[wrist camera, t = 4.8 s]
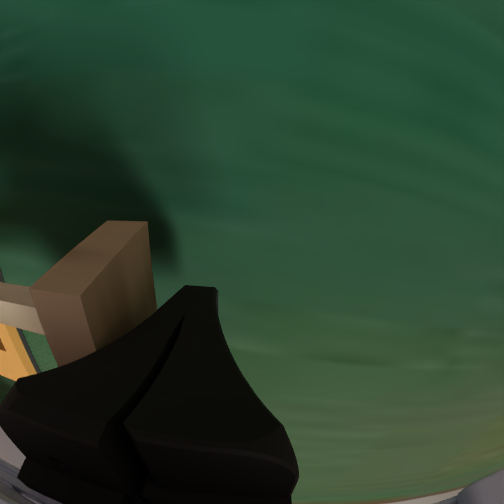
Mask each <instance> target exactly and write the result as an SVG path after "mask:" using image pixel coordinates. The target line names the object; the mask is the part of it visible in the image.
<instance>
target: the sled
mask: <svg viewBox="0 0 504 504" xmlns="http://www.w3.org/2000/svg"><path fill="white" fill-rule="evenodd" d="M155 311H157V304H156V296H155V289H154V281H153V272H152V263H151V254H150V243H149V232H148V221H106V222H105V223H104V224H102V225H101V226H100V227H99V228H97V229H96V230H95V231H94V232H93V233H91V234H90V235H89V236H88V237H86V238H85V239H84V240H83V241H82V242H80V243H79V244H78V245H77V246H76V247H74V248H73V249H72V250H71V251H70V252H69V253H67V254H66V255H65V256H64V257H63V258H62V259H61V260H59V261H58V262H57V263H56V264H55V265H54V266H53V267H52V268H50V269H49V270H48V271H47V272H46V273H45V274H44V275H43V276H42V277H41V278H40V279H38V280H37V281H36V282H35V283H34V284H33V285H32V286H31V287H26V286H20V285H14V284H8V283H2V282H0V323H2V324H5V325H9V326H12V327H16V328H20V329H24V330H27V331H31V332H35V333H40V334H44V335H45V336H46V338H47V341H48V343H49V346H50V348H51V351H52V353H53V355H54V358H55V360H56V362H57V364H58V367H60V366H63V365H66V364H68V363H71V362H73V361H76V360H78V359H81V358H83V357H85V356H87V355H89V354H91V353H93V352H95V351H97V350H99V349H101V348H103V347H105V346H107V345H109V344H110V343H112V342H114V341H115V340H117V339H119V338H120V337H122V336H124V335H125V334H127V333H128V332H130V331H131V330H132V329H134V328H135V327H136V326H138V325H139V324H140V323H142V322H143V321H144V320H146V319H147V318H148V317H149V316H151V315H152V314H153V313H154V312H155Z"/></svg>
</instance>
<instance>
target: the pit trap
mask: <svg viewBox="0 0 504 504" xmlns="http://www.w3.org/2000/svg"><path fill="white" fill-rule="evenodd" d="M0 282H2V283H4V280H3V276H2V273H1V270H0ZM37 373H41V372H40V370H39V368H38V366H37V363H36V361H35V359H34V357H33V355H32V353H31V351H30V348H29V346H28V344H27V342H26V339H25V337H24V335H23V332H22V330H21V329H20V328H16V327H12V326H9V325H5V324H2V323H0V375H2V376H4V377H7V378H9V379H12V380H14V381H17V379H18V378H21V377H26V376H29V375H33V374H37Z"/></svg>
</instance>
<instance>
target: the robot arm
mask: <svg viewBox="0 0 504 504" xmlns="http://www.w3.org/2000/svg"><path fill="white" fill-rule="evenodd" d="M0 426H1V428H2V429H3V431H4V432H5V433H6V434H7V436H8V437H9V438H10V439H11V440H12V442H13V443H14V444H15V445H16V446H17V448H18V449H19V450H20V451H21V452H22V453H23V454H24V455H25V456H26V459H25V461H24V463H23V465H22V467H21V469H19V468H16V467H15V466H13V465H11V464H9V463H7V462H6V461H4V460H2V459H0V504H292V502H291V494H292V492H293V490H294V488H295V486H296V484H297V481H298V478H299V469H298V464H297V460H296V456H295V453H294V450H293V448H292V445H291V442H290V440H289V438H288V435H287V433H286V431H285V428H284V426H283V425H282V424H281V423H280V422H279V421H278V420H277V419H276V418H275V416H274V415H273V414H272V413H271V412H270V411H269V410H268V409H267V408H266V406H265V405H264V404H263V403H262V402H261V400H260V399H259V398H258V396H257V395H256V394H255V393H254V391H253V390H252V388H251V387H250V385H249V384H248V382H247V381H246V379H245V378H244V376H243V375H242V373H241V371H240V370H239V368H238V366H237V364H236V362H235V360H234V358H233V356H232V354H231V352H230V350H229V348H228V345H227V343H226V340H225V337H224V335H223V332H222V329H221V325H220V321H219V317H218V290H217V289H216V288H215V287H204V286H189V285H185V286H184V287H183V288H181V289H180V290H179V291H178V292H177V293H176V294H175V295H173V296H172V297H171V298H170V299H169V300H168V301H167V302H166V303H165V304H164V305H162V306H161V307H160V308H159V309H158V310H157V311H155V312H154V313H153V314H152V315H151V316H149V317H148V318H147V319H146V320H144V321H143V322H142V323H140V324H139V325H138V326H136V327H135V328H134V329H132V330H131V331H130V332H128V333H127V334H125V335H124V336H122V337H120V338H119V339H117V340H115V341H114V342H112V343H110V344H109V345H107V346H105V347H103V348H101V349H99V350H97V351H95V352H93V353H91V354H89V355H87V356H85V357H83V358H81V359H78V360H76V361H73V362H71V363H68V364H66V365H63V366H60V367H57V368H54V369H51V370H48V371H45V372H41V373H37V374H33V375H29V376H26V377H21V378H18V379H17V381H16V382H15V384H14V385H13V387H12V388H11V390H10V391H9V393H8V394H7V396H6V397H5V399H4V400H3V402H2V403H1V405H0ZM434 504H504V470H503V469H501V470H499V471H497V472H495V473H493V474H491V475H488V476H486V477H484V478H481V479H479V480H477V481H475V482H473V483H472V484H470V485H468V486H467V487H465V488H464V489H463V490H462V491H461V492H459V493H458V495H457V496H455V497H452V498H449V499H446V500H443V501H440V502H438V503H434Z"/></svg>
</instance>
